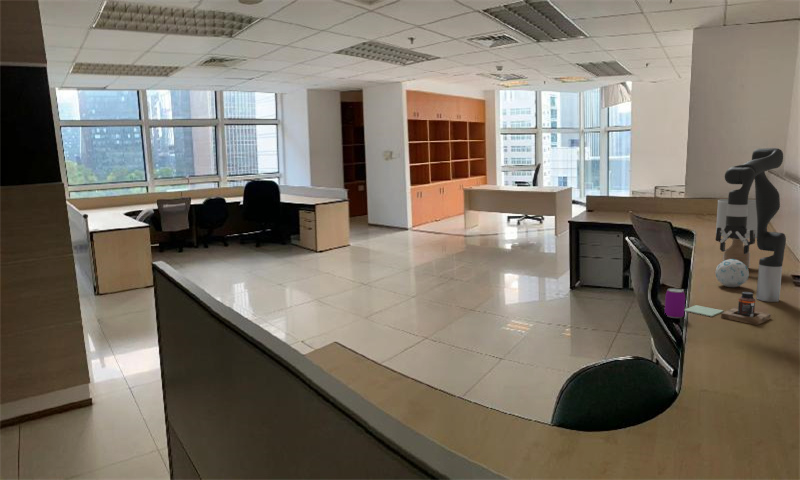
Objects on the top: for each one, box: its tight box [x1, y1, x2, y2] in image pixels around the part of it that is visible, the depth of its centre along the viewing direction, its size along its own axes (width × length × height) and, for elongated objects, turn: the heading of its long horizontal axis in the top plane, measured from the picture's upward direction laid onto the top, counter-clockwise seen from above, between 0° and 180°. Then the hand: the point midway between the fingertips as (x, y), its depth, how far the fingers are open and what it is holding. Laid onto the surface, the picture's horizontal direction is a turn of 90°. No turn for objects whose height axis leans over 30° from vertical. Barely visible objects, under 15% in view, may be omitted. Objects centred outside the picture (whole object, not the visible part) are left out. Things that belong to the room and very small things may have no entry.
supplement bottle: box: [737, 291, 756, 318], centre depth 227 cm, size 6×6×11 cm
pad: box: [684, 304, 725, 318], centre depth 238 cm, size 12×12×1 cm
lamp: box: [715, 198, 757, 268], centre depth 324 cm, size 24×24×42 cm
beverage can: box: [664, 287, 686, 319], centre depth 231 cm, size 8×8×12 cm
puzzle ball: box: [715, 259, 750, 288], centre depth 280 cm, size 15×15×15 cm
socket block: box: [720, 306, 772, 326], centre depth 227 cm, size 14×14×2 cm
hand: (733, 252), depth 224 cm, fingers open, 8 cm apart
